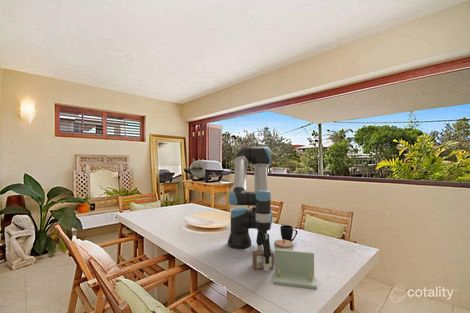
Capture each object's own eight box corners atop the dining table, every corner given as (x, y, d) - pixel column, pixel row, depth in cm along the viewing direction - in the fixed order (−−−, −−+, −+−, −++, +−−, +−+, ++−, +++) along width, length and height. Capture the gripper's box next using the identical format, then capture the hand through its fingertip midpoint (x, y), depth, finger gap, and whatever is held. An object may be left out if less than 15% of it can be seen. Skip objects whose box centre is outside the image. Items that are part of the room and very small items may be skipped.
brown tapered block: (254, 270, 112) (254, 254, 112) (252, 266, 116) (252, 250, 116) (273, 269, 113) (273, 253, 113) (271, 265, 117) (271, 249, 117)
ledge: (273, 283, 100) (273, 258, 100) (274, 271, 110) (274, 248, 111) (316, 289, 96) (316, 262, 96) (313, 276, 106) (313, 252, 107)
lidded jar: (281, 262, 121) (281, 244, 121) (270, 254, 131) (270, 238, 131) (297, 258, 125) (297, 241, 125) (285, 251, 135) (285, 235, 135)
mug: (292, 245, 144) (292, 230, 145) (277, 240, 154) (277, 226, 154) (300, 242, 150) (300, 228, 150) (285, 238, 159) (285, 224, 159)
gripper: (277, 227, 103) (278, 275, 102) (264, 215, 128) (264, 253, 127) (261, 228, 102) (261, 276, 102) (251, 215, 127) (251, 254, 126)
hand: (263, 263), depth 114 cm, fingers open, 13 cm apart
